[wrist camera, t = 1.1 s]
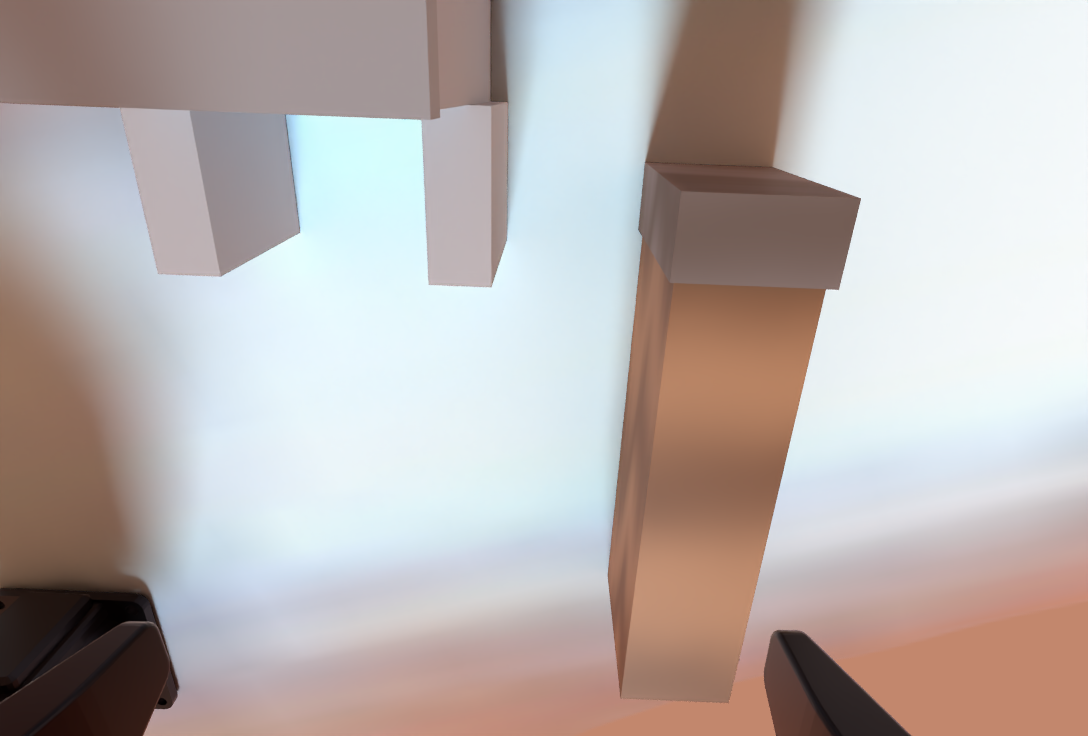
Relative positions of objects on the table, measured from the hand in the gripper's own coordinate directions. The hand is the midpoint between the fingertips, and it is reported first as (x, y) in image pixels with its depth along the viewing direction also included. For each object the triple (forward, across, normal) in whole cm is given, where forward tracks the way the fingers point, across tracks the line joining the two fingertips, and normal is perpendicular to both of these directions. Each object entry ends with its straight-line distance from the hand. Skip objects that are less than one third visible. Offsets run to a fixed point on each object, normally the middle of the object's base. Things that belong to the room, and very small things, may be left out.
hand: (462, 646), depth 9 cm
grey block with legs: (+13, +4, -7) cm, 15 cm away
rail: (+13, -6, +3) cm, 14 cm away
